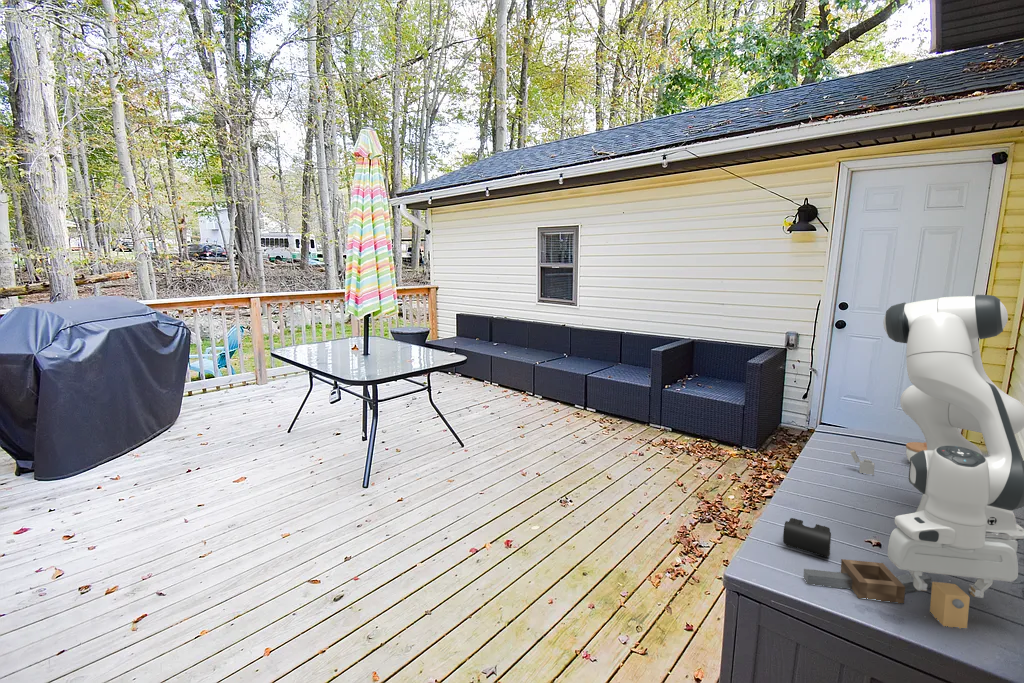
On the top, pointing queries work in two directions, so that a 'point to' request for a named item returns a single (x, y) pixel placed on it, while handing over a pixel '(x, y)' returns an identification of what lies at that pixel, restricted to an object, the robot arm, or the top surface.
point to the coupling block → (949, 604)
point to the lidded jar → (914, 448)
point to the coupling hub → (873, 581)
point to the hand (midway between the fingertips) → (947, 592)
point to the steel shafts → (846, 582)
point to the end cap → (807, 537)
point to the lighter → (863, 464)
